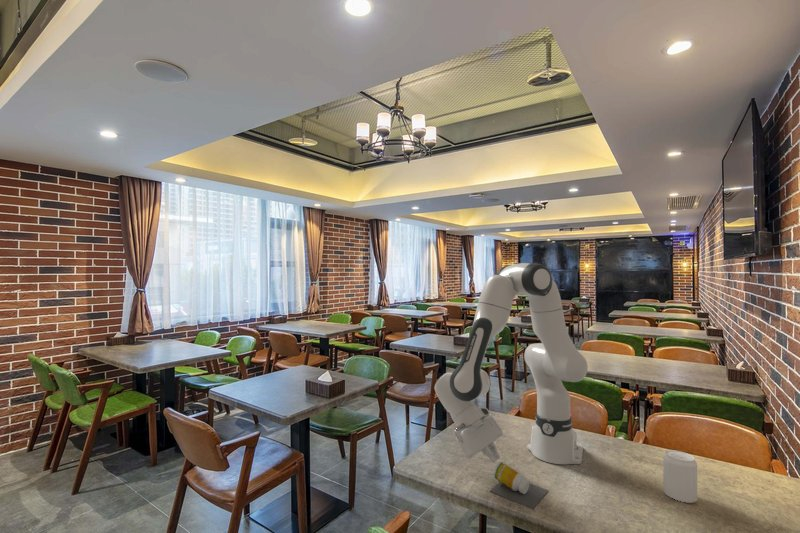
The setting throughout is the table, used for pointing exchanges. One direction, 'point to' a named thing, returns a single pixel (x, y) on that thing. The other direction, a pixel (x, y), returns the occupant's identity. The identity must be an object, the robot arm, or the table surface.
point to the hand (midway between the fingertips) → (496, 460)
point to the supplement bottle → (511, 477)
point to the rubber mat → (527, 499)
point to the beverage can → (680, 476)
